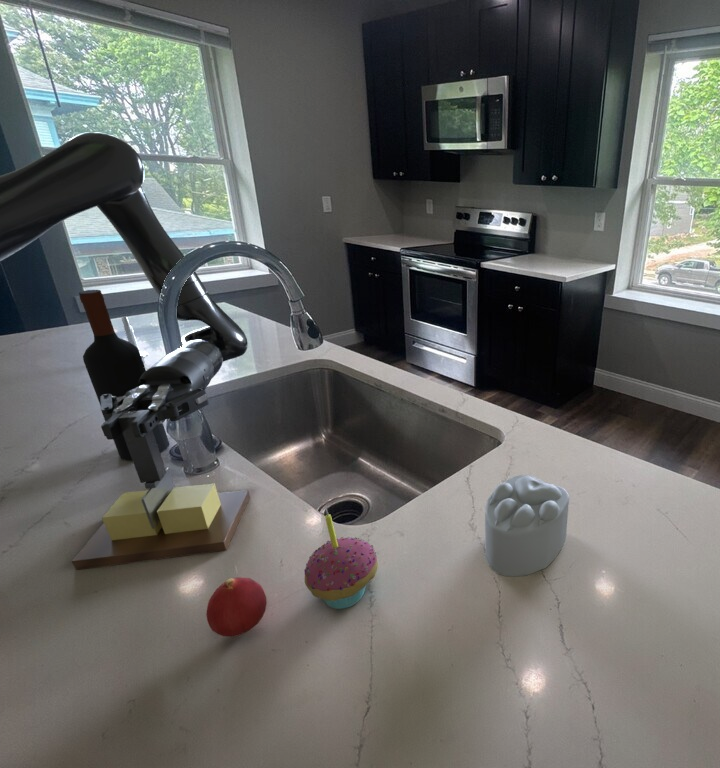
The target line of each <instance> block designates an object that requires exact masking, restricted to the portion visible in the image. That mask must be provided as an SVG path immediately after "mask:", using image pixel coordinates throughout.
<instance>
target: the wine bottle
mask: <svg viewBox="0 0 720 768" xmlns="http://www.w3.org/2000/svg"><path fill="white" fill-rule="evenodd" d="M78 296H79V299H80V303H81V304H82V306H83V310H84V311H85V314H86V318H87V320H88V324H89V325H90V328H91V331H92V334H93V342H92V343H91V344H89V346H87V348H86V349H85V350H84V353H83V355H82V360H83V364H84V366H85V368H86V371H87V374H88V376H89V379H90V382H91V384H92V387H93V390H94V392H95V395H96V397H97V400H98V402H99V406H100V407H101V402H100V396H102V395H104V394H111V395H112V396H116V398H117V397H121V396H125V394H126V393H127V392H128V391H130V390H132V389H134V388H136V387H137V385H138V382H139V379H140V377H141V376H142V374H143V373H144V372H145V371H146V370H147V369H146V367H145V364H144V363H143V361H142V357H141V354H140V352H141V351H140V349H139V350H138V348H139V347H138V348H137V347H136V346H135V345H133V344H132V343H131V342H129V341H128V340H127V339H123V338H121V337H120V336H118V335H117V333H116V332H115V331H116V330H115V329H114V325H113V323H112V319H111V317H110V314H109V311H108V309H107V305H106V301H105V298H104V294H103V293H102V290H101V289H87V290H81V291H78ZM152 431H153V434H154V437H155V440H156V443H157V446H158V449H159V452H160V454H161V453H163V452H164V451H166V450H167V449H168V447H169V446H170V441H169V438H168V435H167V433H166V429H165V426H164V422H163V423H162V424H158V425H156V426H155V427H154V428H153V429H152ZM112 440H113V443H114V445H115V448H116V450H117V453H118V456H119V457H120V459H121V460H124V461H128V462H129V461H130V462H133V460H132V458H131V455H130V452H129V449H128V447H127V444H126V441H125V438H124V436H123V433H122V434H121V435H119V436H118V437H117V438H116V439H112Z"/></svg>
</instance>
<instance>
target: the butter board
mask: <svg viewBox="0 0 720 768" xmlns="http://www.w3.org/2000/svg"><path fill="white" fill-rule="evenodd" d="M217 493H218V496H219V500H220V503H221V505H220V507H219V509H218V511H217V513H216V515H215V517H214V519H213V521H212V522H211V524H210V526H209V528H208V529H202V530H194V531H186V532H178V533H169V534H165V533H164V530H163V527H162V528H161V529H160V531H159V532H158V534H157V535H153V536H145V537H136V538H128V539H120V540H111V538H110V535H109V533H108V531H107V528H106V526H105V524H104V522H102V524H101V526H99V527H98V529H97V530H96V531H95V532H94V534H92V536H91V538H89V540H88V541H87V542H86V543H85V544H84V546H83V547H82V548H81V549H80V550H79V552H78V553H77V554H76V555H75V556H74V558H73V559H72V560H71V563H72V566H73V567H74V569H75V571H77V570H84V569H85V570H86V569H93V568H94V569H95V568H100V567H107V566H115V565H116V566H117V565H123V564H131V563H139V562H147V561H153V560H161V559H162V560H163V559H169V558H177V557H184V556H185V557H186V556H193V555H200V554H207V553H215V552H216V553H217V552H221V551H223V552H224V551H227V549H228V548H229V546H230V543H231V541H232V538H233V536H234V535H235V532H236V530H237V527H238V525H239V523H240V521H241V518H242V516H243V514H244V512H245V510H246V507H247V506H248V503H249V501H250V498H251V495H250V491H249V489H244V490H234V491H225V492H224V491H223V492H217Z"/></svg>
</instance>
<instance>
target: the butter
mask: <svg viewBox="0 0 720 768" xmlns="http://www.w3.org/2000/svg"><path fill="white" fill-rule="evenodd" d="M148 490H149V489H146V490H139V491H137V490H136V491H127V492H122V494H121V495H120V496H119V497H118V498H117V500H115V502H114V503H113V504H112V505H111V507H109V508H108V510H107V511H106V512H105V513H104V515H103V516H102V517H101V518H102V522H103V523H104V524H105V526H106V528H107V531H108V533H109V535H110V538H111V540H120V539H128V538H136V537H145V536H153V535H157V534H158V532H159V531H160V529H161V528H162V527H163V530H164V533H165V534H169V533H178V532H186V531H194V530H202V529H208V528H209V526H210V524H211V522H212V521H213V519H214V517H215V515H216V513H217V511H218V509H219V507H220V505H221V503H220V500H219V496H218V493H219V492H218V489H217V486H216V483H205V484H195V485H186V486H175V488H173V489H172V491H171V492H170V494H169V495H168V496H167V498H166V499H165V501H164V502H163V504H162V505H161V506H160V508H159V509H158V511H157V513H158V516H159V519H160V521H159V523H158V524H157V526H156V527H155V529H152V527H151V525H150V522H149V519H148V516H147V514H146V511H145V508H144V506H143V503H142V500H141V499H142V498H143V497H144V495H145V494H146V493H147V492H148Z"/></svg>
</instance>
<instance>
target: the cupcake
mask: <svg viewBox="0 0 720 768" xmlns="http://www.w3.org/2000/svg"><path fill="white" fill-rule="evenodd" d="M324 510H325V511H324V512H325V516H324V518H325V523H326V526H327V531H328V534H329V535H328V536H329V538H330V540H327V541H326V542H325V543H324V544H322V545H320V546H319V547H317V548H316V549H315V550H314V551H313V552H312V554H311V555H310V556H309V557H308V560H307V562H306V563H305V564H306V565H305V569H304V584H305V587H306V588H307V590H309V591H310V593H311V594H312V596H313V597H315V598H317V599H322V600H323V601H324V603H325V604H326V605H327V606H329V607H330V608H332V609H334V610H335V609H336V610H343V609H344V610H345V609H347V608H350V607H352V606H354V605H356V604H357V603H358V602H359V601H360V600H361V599H362V597H363V596H364V595H365V590H366V586H367V584H369V582H370V581H372V580H373V579H374V578H375V576H376V574H377V572H378V569H379V568H378V567H379V561H378V558H377V552H376V551H375V548H374V546H373V544H370V543H369V542H367V541H365V540H364V539H360V538H359V537H350V536H347V537H344V536H342V537H340V538H337V536H336V530H335V527H334V523H333V519H332V515H331V514H329V511H328V509H327V508H325V509H324Z"/></svg>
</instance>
